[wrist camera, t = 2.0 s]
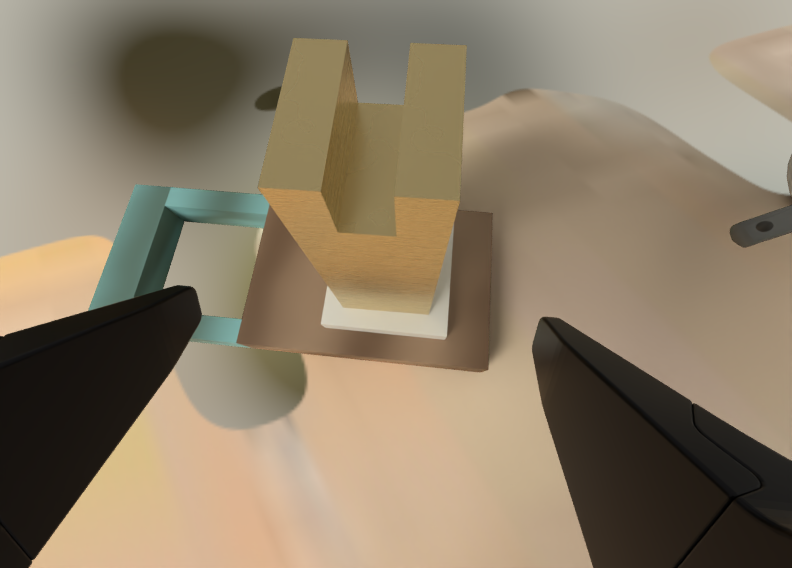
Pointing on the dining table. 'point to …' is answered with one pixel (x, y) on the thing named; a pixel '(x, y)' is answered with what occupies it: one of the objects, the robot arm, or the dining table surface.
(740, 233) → the saucepan
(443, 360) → the divided tray
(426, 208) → the brass clip
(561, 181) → the dining table surface
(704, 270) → the dining table surface
